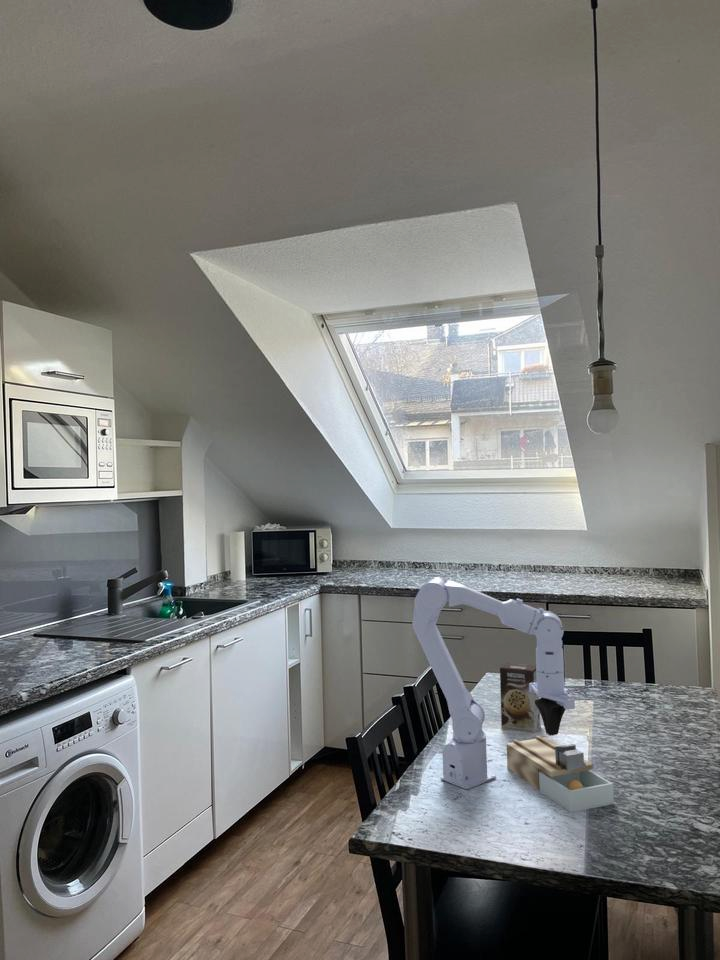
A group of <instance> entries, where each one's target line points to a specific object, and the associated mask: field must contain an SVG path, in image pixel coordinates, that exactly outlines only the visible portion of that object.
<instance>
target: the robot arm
mask: <svg viewBox="0 0 720 960" xmlns="http://www.w3.org/2000/svg"><path fill="white" fill-rule="evenodd" d="M523 602H524V599H520V598H516V600H515V599H511V598H510V599H509V600H508V599H507V600H505V601H502V600H499V599H498V598H494V597H492V596H490V595H488V594H485V593H483V592H481V591H479V590H475V589H474V588H471V587H470V586H466V585H464V584H462V583H459V582H456V581H453V580H450V579H449V580H446V579H444V578H443V577H438V576H437V577H436V576H435V577H432V578H430V579H428V580H427V581H426V582H425V583H424V584H423V585H422V586H421V587H420V588H419V591H418V592H417V594H416V596H415V598H414V606H413V616H412V630H413V632H414V634H415V636H416V638H417V640H418V643H419V644H420V646H421V648H422V650H423V653H424V655H425V657H426V659H427V662H428V663H429V666H430V668H431V669H432V672H433V674H434V676H435V678H436V680H437V682H438V685H439V687H440V689H441V690H442V693H443V695H444V698H445V699H446V703H447V707H448V711H449V712H448V713H449V715H450V717H451V721H452V722H451V725H452V731H453V732H452V738H451V740H450V741H449V742H448V743H447V744H445V745H444V747H443V749H442V774H443V775H441V776H440V779H441V780H442V781H445V782H448V783H450V784H452V785H455V786H456V787H460V788H462V789H463V790H469V789H471V788H474V787H476V786H478V785H482V784H484V783H487V782H490V781H491V780H494V779H496V778H497V776H496V775H495V774H493V773H490V772H488V758H487V735H486V733H485V732H484V731H483V723H484V721H485V717H486V716H485V711H484V708H483V707H482V706H481V705H480V704H479V702H477V701H476V700H475V698H474V697H473V695H472V694H471V692H470V691H469V690H468V689H467V688H466V685H465V682H464V681H463V679H462V676H461V675H460V673H459V671H458V668H457V666H456V664H455V662H454V659H453V658H452V656H451V654H450V651H449V649H448V647H447V646H446V643H445V641H444V639H443V636H442V635H441V632H440V630H439V628H438V626H437V621H438V619H439V616H440V614H441V611H442V610H443V608H444V607H445V605H446V604H447V603H448V607H449V608H451V607H456V606H459V605H460V606H461V605H465V606H468V607H471V608H474V609H477V610H480V611H481V612H482V611H483V612H486V613H488V614H492V615H494V616H497V617H498V618H499V620H500V622H501V624H502V625H504V626H507V627H509V628H512V629H515V630H517V631H519V632H522V633H524V634H527V635H534V636H535V638H536V648H535V665H536V675H537V682H535V683H529V692H531V693H536V695H537V696H539V697H540V699H538V700H535V704H536V706H537V708H538V709H539V712H540V718H541V720H542V722H543V727H544V730H545V734H546V735H548V736H550V737H551V736H556V735H559V730H560V727H561V726H560V725H561V722H562V719H563V716H564V714H565V713H566V712H565V711H566V710H567V711H568V710H574V709H576V707H575V706H576V704H575V698H572V697H571V696H570V694H569V692H570V690H569V689H568V688H567V687H565V666H564V665H565V663H564V649H563V640H562V638H563V636H564V632H565V630H564V628H563V624H562V620H561V619H560V617H559V616H558V615H557V614H556V613H554V612H552V611H550V610H545V609H544V608H542V607H539V608H537V607H536V608H535V607H533V606H530V605H528V604H525V603H523Z"/></svg>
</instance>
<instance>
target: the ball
mask: <svg viewBox="0 0 720 960" xmlns="http://www.w3.org/2000/svg"><path fill="white" fill-rule="evenodd" d="M581 788H583V785H582V784H581V782H579V781H578V780H572V781H570V782H569V784H568V789H569V790H575V789H581Z"/></svg>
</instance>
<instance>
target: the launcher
mask: <svg viewBox="0 0 720 960" xmlns="http://www.w3.org/2000/svg"><path fill="white" fill-rule="evenodd" d="M557 746H561V745H560V744H558V743H556V742H555V741H553V740H551V739H549V738H547V737H545V736H544V737H541V736H539V735H535V738H532V739H527V740H517V739H513V742H507V743H506V766H507V767H506V768H507V769H508V770H509V771H511V772H512V773H513V774H515V775H516V776H517V777H519V778H520V779H522V780H524V781H525V782H526V783H527V784H529V785H530V786H532V787H533V788H535V789H536V790H538V791H540V786H539V772H540V771H543V772H545V773H546V774H548V775H549V776H551V777H553V776H558V775H564V774H570V773H575V772H581V771H586V770H590V771H592V770H594V764H593V763H592V762H590V761H587V760H586V759H584V768H580V769H574V770H568V771H567V770H565V769H564V768H562V767H560V766H559V765H557V764H556V757H555V747H557Z"/></svg>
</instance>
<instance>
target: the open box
mask: <svg viewBox="0 0 720 960" xmlns="http://www.w3.org/2000/svg"><path fill="white" fill-rule="evenodd" d="M572 780H578V781H579V782H581V784H582V785H583V788H581V789H575V790H569V789H568V784H569V782H570V781H572ZM539 786H540V790H539V792H541V793H542V794H543V795H545V796H546V797H548V798H549V799H551V800H552V801H553V802H555V803H556V804H557V805H559V806H560V807H562V808H563V809H564V810H565V811H568V812H569V813H575V812H579V811H580V812H581V811H584V810H590V809H595V808H600V807H605V806H610V804H611V805H614V804H615V802H614V799H615V798H614V783H612V782H611V781H609V780H608V779H605V778H604V777H602V776H600V775H599V774H597V773H595V772H594V771H592V770H586V771H581V772H575V773H570V774H564V775H558V776H553V777H551V776H549V775H548V774H546V773H545V772H543V771H540V772H539Z"/></svg>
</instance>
